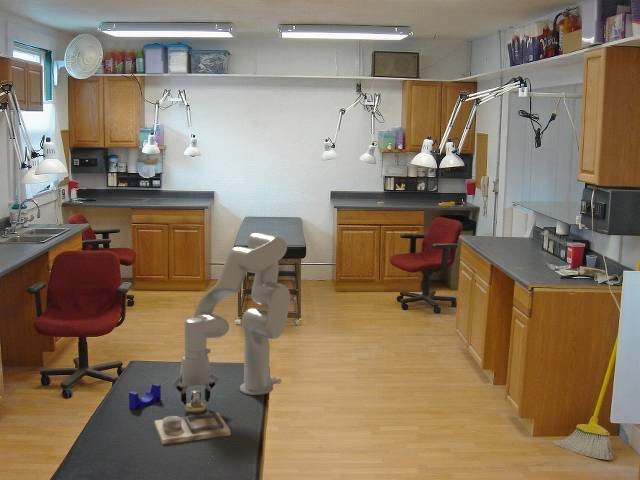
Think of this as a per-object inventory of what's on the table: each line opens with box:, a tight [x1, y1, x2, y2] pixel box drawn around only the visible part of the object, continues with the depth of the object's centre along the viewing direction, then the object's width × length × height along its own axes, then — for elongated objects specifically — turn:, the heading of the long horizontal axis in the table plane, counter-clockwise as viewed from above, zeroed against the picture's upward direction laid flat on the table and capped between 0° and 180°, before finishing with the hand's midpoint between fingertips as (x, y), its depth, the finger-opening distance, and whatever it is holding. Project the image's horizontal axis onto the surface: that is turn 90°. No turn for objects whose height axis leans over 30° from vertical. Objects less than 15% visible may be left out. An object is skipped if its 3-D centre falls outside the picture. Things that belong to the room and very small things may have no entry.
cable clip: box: [128, 383, 162, 411], centre depth 271 cm, size 12×4×6 cm, turn 144°
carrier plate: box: [153, 412, 232, 445], centre depth 250 cm, size 22×16×4 cm
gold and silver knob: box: [185, 389, 207, 414], centre depth 267 cm, size 7×7×6 cm
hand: (195, 401), depth 267 cm, fingers open, 7 cm apart
